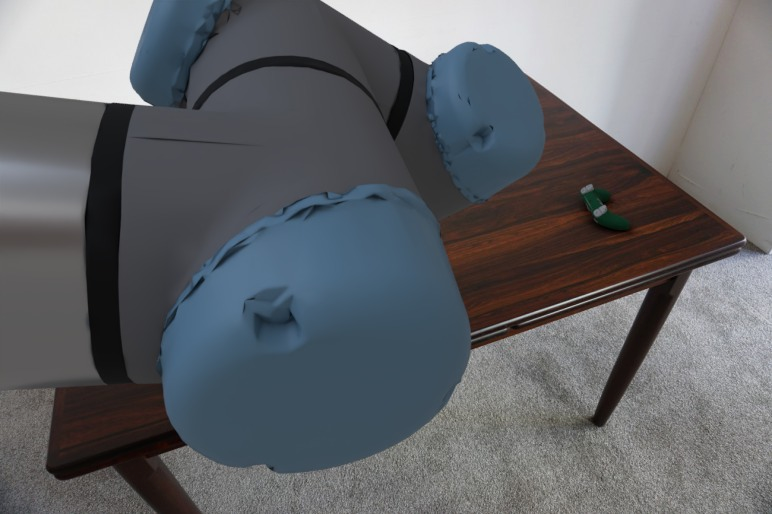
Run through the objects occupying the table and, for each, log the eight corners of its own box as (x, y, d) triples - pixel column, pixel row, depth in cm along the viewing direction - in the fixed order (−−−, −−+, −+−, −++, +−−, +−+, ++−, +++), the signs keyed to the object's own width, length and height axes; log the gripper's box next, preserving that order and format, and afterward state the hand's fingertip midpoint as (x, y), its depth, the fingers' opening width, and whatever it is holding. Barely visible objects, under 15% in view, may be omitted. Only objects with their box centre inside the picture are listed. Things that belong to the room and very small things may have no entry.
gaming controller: (591, 206, 90) (572, 189, 87) (610, 192, 88) (591, 174, 85) (613, 242, 84) (593, 224, 81) (634, 227, 82) (614, 209, 79)
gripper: (275, 380, 31) (172, 405, 47) (448, 160, 46) (325, 236, 62) (180, 289, 29) (107, 347, 45) (393, 92, 44) (281, 188, 60)
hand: (234, 283), depth 53 cm, fingers open, 13 cm apart
